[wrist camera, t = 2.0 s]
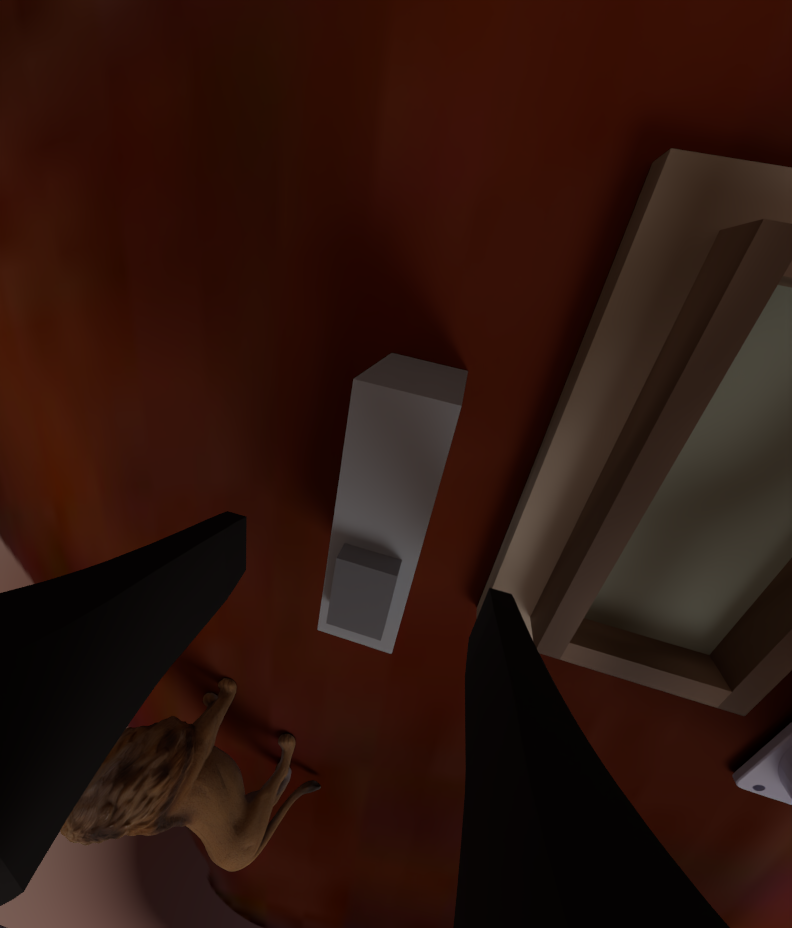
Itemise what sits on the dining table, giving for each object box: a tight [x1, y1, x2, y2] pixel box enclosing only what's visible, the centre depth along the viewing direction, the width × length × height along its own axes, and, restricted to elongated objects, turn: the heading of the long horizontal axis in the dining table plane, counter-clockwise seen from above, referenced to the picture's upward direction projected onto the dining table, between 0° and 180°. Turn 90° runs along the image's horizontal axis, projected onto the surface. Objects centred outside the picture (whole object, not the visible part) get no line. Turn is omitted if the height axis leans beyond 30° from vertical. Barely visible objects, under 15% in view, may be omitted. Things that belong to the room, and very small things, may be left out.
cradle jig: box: [477, 148, 792, 716], centre depth 13 cm, size 12×18×3 cm, turn 169°
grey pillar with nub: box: [318, 353, 468, 654], centre depth 14 cm, size 3×10×6 cm, turn 169°
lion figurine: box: [61, 678, 321, 871], centre depth 23 cm, size 15×5×9 cm, turn 45°
